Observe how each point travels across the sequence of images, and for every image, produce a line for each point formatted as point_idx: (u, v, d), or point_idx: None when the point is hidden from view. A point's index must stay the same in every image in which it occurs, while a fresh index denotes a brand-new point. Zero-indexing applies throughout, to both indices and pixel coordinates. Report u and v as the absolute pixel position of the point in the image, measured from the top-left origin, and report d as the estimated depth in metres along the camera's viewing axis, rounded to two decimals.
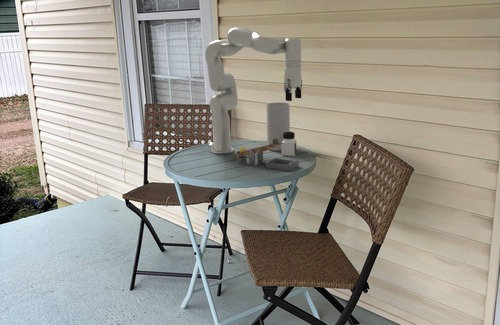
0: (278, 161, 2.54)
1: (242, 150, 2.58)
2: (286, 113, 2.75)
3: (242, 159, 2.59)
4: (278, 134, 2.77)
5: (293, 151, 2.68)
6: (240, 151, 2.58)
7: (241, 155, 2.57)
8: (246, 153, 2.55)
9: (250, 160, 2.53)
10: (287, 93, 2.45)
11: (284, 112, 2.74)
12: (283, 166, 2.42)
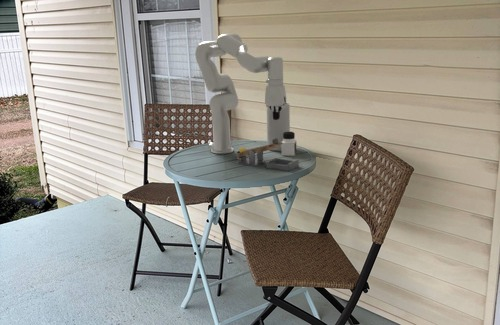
0: (278, 161, 2.54)
1: (242, 150, 2.58)
2: (286, 113, 2.75)
3: (242, 159, 2.59)
4: (278, 134, 2.77)
5: (293, 151, 2.68)
6: (240, 151, 2.58)
7: (241, 155, 2.57)
8: (246, 153, 2.55)
9: (250, 160, 2.53)
10: (278, 112, 2.54)
11: (284, 112, 2.74)
12: (283, 166, 2.42)
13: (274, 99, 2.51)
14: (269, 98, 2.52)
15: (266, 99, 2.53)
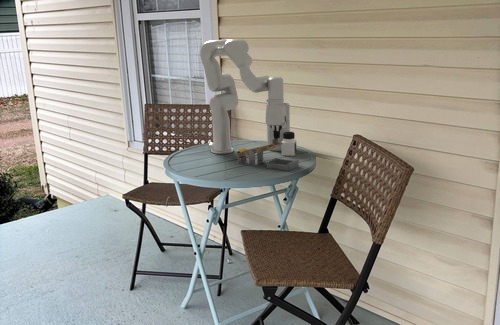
0: (278, 161, 2.54)
1: (242, 150, 2.58)
2: (286, 113, 2.75)
3: (242, 159, 2.59)
4: None
5: (293, 151, 2.68)
6: (240, 151, 2.58)
7: (241, 155, 2.57)
8: (246, 153, 2.55)
9: (250, 160, 2.53)
10: (279, 131, 2.57)
11: None
12: (283, 166, 2.42)
13: (275, 118, 2.53)
14: (270, 117, 2.55)
15: (267, 118, 2.56)
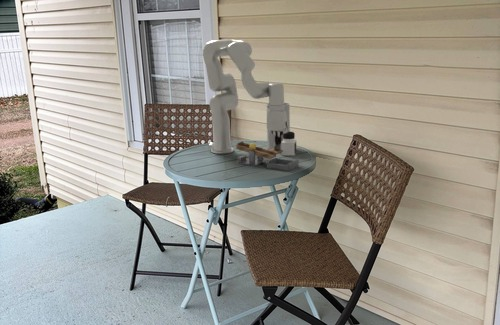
0: (278, 161, 2.54)
1: (249, 147, 2.55)
2: (286, 113, 2.75)
3: (242, 159, 2.59)
4: None
5: (293, 151, 2.68)
6: (251, 147, 2.54)
7: (241, 149, 2.56)
8: (246, 150, 2.54)
9: (250, 160, 2.53)
10: (280, 137, 2.57)
11: None
12: (283, 166, 2.42)
13: (276, 124, 2.54)
14: (271, 123, 2.55)
15: (268, 124, 2.56)
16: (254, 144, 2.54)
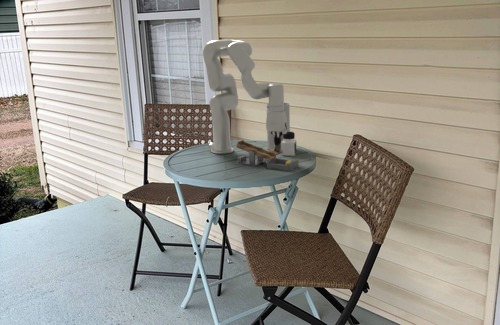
0: (278, 161, 2.54)
1: (286, 164, 2.45)
2: (286, 113, 2.75)
3: (242, 159, 2.59)
4: None
5: (293, 151, 2.68)
6: None
7: (241, 148, 2.56)
8: (246, 149, 2.54)
9: (250, 160, 2.53)
10: (279, 137, 2.57)
11: None
12: (283, 166, 2.42)
13: (275, 125, 2.54)
14: (270, 124, 2.55)
15: (267, 125, 2.57)
16: None
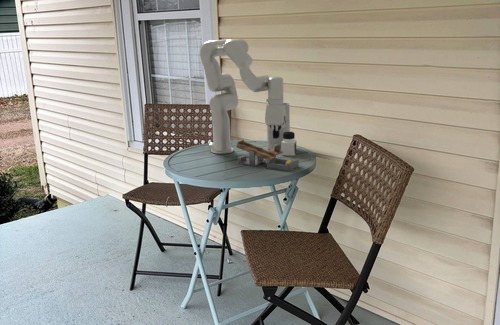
0: (278, 161, 2.54)
1: (286, 164, 2.45)
2: (286, 113, 2.75)
3: (242, 159, 2.59)
4: None
5: (293, 151, 2.68)
6: None
7: (241, 148, 2.56)
8: (246, 149, 2.54)
9: (250, 160, 2.53)
10: (278, 131, 2.57)
11: None
12: (283, 166, 2.42)
13: (274, 118, 2.53)
14: (269, 117, 2.55)
15: (266, 118, 2.56)
16: None
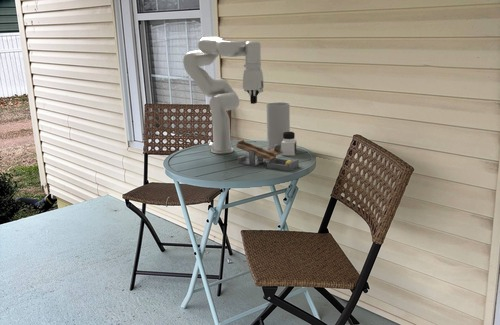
0: (278, 161, 2.54)
1: (286, 164, 2.45)
2: (286, 113, 2.75)
3: (242, 159, 2.59)
4: (278, 134, 2.77)
5: (293, 151, 2.68)
6: None
7: (241, 148, 2.56)
8: (246, 149, 2.54)
9: (250, 160, 2.53)
10: (256, 96, 2.58)
11: (284, 112, 2.74)
12: (283, 166, 2.42)
13: (251, 83, 2.54)
14: (247, 82, 2.56)
15: (244, 83, 2.57)
16: None
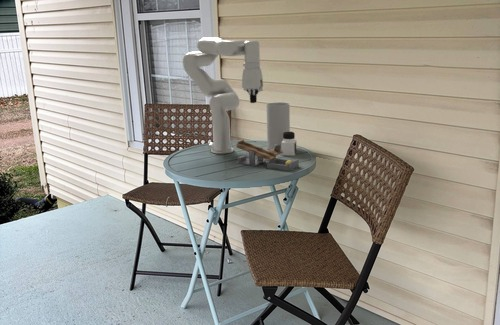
0: (278, 161, 2.54)
1: (286, 164, 2.45)
2: (286, 113, 2.75)
3: (242, 159, 2.59)
4: (278, 134, 2.77)
5: (293, 151, 2.68)
6: None
7: (241, 148, 2.56)
8: (246, 149, 2.54)
9: (250, 160, 2.53)
10: (255, 95, 2.58)
11: (284, 112, 2.74)
12: (283, 166, 2.42)
13: (251, 82, 2.54)
14: (246, 81, 2.56)
15: (243, 82, 2.57)
16: None
